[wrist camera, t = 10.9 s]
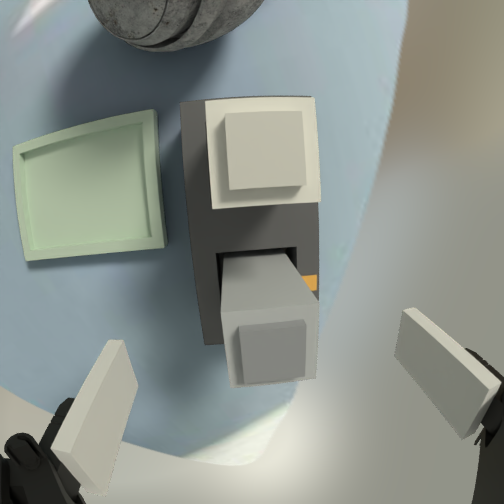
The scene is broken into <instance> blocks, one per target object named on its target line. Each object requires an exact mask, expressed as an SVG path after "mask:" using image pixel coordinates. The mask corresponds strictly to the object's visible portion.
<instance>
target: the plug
mask: <svg viewBox="0 0 504 504" xmlns="http://www.w3.org/2000/svg"><path fill="white" fill-rule="evenodd" d="M221 320H222V328H223V336H224V344H225V351H226V359H227V366H228V373H229V380H230V387H231V388H239V387H251V386H261V385H270V384H279V383H287V382H294V381H301V380H308V379H314V378H316V369H317V350H318V330H319V301H318V300H317V299H316V297H315V296H314V294H313V293H312V291H311V290H310V288H309V287H308V285H307V284H306V283H305V281H304V280H303V278H302V277H301V275H300V274H299V272H298V271H297V270H296V268H295V267H294V265H293V264H292V262H291V261H290V259H289V258H288V257H287V255H286V254H285V252H284V251H283V249H282V248H271V249H258V250H246V251H234V252H224V262H223V279H222V296H221Z"/></svg>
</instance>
